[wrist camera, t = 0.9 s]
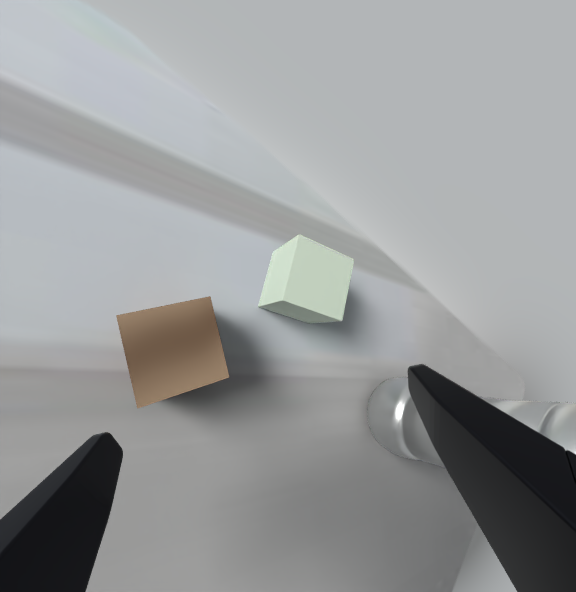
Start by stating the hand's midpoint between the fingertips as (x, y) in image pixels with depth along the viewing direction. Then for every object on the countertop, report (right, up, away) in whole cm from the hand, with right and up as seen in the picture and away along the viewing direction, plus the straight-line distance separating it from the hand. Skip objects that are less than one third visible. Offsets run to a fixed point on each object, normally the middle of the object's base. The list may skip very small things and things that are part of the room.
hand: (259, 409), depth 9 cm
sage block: (+1, +4, +17) cm, 18 cm away
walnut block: (-8, 0, +12) cm, 14 cm away
